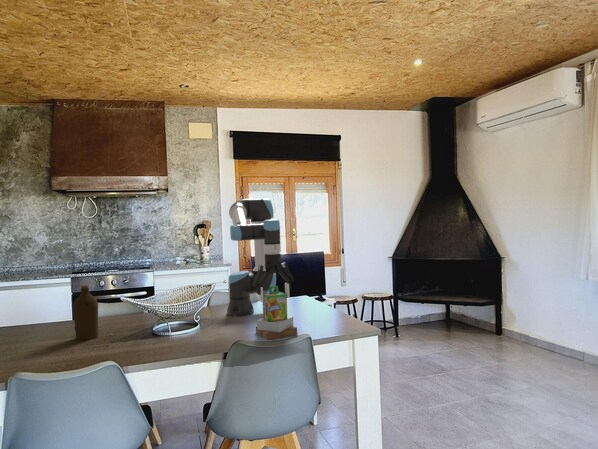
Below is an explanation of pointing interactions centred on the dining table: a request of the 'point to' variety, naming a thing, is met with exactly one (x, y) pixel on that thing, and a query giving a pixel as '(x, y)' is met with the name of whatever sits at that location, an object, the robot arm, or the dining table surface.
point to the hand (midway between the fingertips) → (274, 299)
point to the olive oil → (85, 315)
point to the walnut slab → (277, 333)
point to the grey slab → (275, 324)
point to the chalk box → (274, 305)
